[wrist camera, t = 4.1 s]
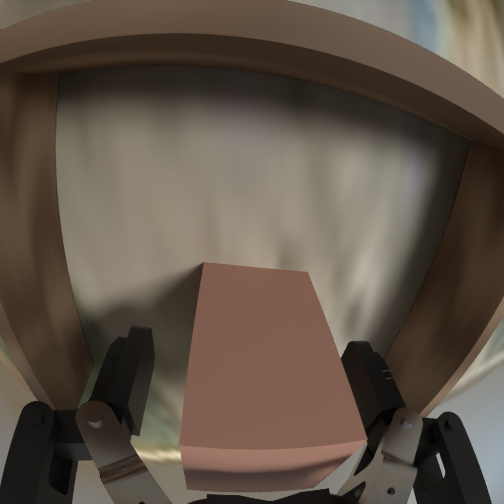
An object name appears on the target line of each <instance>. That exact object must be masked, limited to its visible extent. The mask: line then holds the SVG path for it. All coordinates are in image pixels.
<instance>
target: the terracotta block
mask: <svg viewBox="0 0 504 504" xmlns="http://www.w3.org/2000/svg"><path fill="white" fill-rule="evenodd" d="M366 440H367V436H366V433H365V430H364V427H363V423H362V420H361V417H360V414H359V411H358V408H357V405H356V402H355V399H354V396H353V393H352V390H351V387H350V384H349V382H348V379H347V376H346V373H345V370H344V367H343V364H342V362H341V359H340V356H339V353H338V351H337V348H336V345H335V342H334V340H333V337H332V334H331V331H330V329H329V326H328V323H327V321H326V318H325V315H324V313H323V310H322V308H321V305H320V302H319V300H318V297H317V295H316V292H315V290H314V287H313V284H312V282H311V279H310V277H309V274H308V272H301V271H290V270H279V269H268V268H257V267H247V266H236V265H226V264H216V263H206V262H204V265H203V271H202V277H201V283H200V289H199V295H198V302H197V308H196V315H195V321H194V328H193V335H192V342H191V349H190V357H189V364H188V372H187V380H186V388H185V397H184V406H183V415H182V425H181V435H180V451H181V457H182V463H183V469H184V474H185V480H186V484H187V489H190V490H200V491H215V492H272V491H287V490H298V489H307V488H313V487H315V486H316V485H317V484H319V483H320V482H321V481H322V480H324V479H325V478H326V477H327V476H328V475H329V474H331V473H332V472H333V471H334V470H335V469H337V468H338V467H339V466H340V465H341V464H342V463H343V462H344V461H346V460H347V458H349V457H350V456H351V455H352V454H353V453H354V452H355V451H356V450H357V449H358V448H359V447H360V446H361V445H362V444H363V443H364V442H365V441H366Z"/></svg>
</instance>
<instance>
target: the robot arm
mask: <svg viewBox="0 0 504 504" xmlns="http://www.w3.org/2000/svg"><path fill="white" fill-rule="evenodd" d="M154 359H155V355H154V346H153V337H152V330H151V328H146V327H139V326H132V327H131V329H130V332H129V335H128V337H127V338H124V337H118V338H117V339H116V340H115V341H114V342H113V343H112V344H111V345H110V347H109V349H108V352H107V354H106V358H105V359H104V362H103V366H102V367H101V370H100V373H99V375H98V378H97V381H96V384H95V386H94V389H93V392H92V395H91V397H90V399H89V401H88V402H86V403H84V404H82V405H81V406H80V407H79V408H78V409H74V410H52V409H51V407H50V406H49V405H48V404H46V403H44V402H41V401H33V402H30V403H28V404H27V405H26V406H25V407H24V408H23V410H22V412H21V415H20V417H19V420H18V423H17V426H16V429H15V432H14V436H13V438H12V442H11V445H10V449H9V452H8V456H7V460H6V464H5V467H4V472H3V476H2V480H1V485H0V504H72V499H73V491H74V484H75V478H76V471H77V465H78V460H93V461H94V463H95V465H96V467H97V469H98V471H99V473H100V478H101V481H102V483H103V485H104V486H105V488H106V490H107V492H108V494H109V495H110V497H111V499H112V500H113V502H114V504H173V503H172V502H171V501H170V500H169V498H168V497H167V496H166V494H165V493H164V492H163V490H162V489H161V488H160V486H159V485H158V483H157V482H156V480H155V479H154V478H153V476H152V475H151V473H150V472H149V470H148V469H147V467H146V466H145V464H144V463H143V461H142V460H141V459H140V457H139V456H138V454H137V453H136V451H135V450H134V448H133V446H132V445H131V443H130V440H131V435H136V436H140V430H141V425H142V420H143V415H144V410H145V405H146V400H147V395H148V391H149V386H150V382H151V377H152V373H153V368H154ZM341 362H342V364H343V367H344V370H345V373H346V376H347V379H348V382H349V384H350V387H351V390H352V393H353V396H354V399H355V402H356V405H357V408H358V411H359V414H360V417H361V420H362V423H363V427H364V430H365V433H366V436H367V440H366V441H367V443H366V444H365V445H364V447H363V449H362V452H361V454H360V456H359V458H358V460H357V462H356V464H355V466H354V468H353V471H352V472H351V474H350V476H349V478H348V480H347V481H346V482H345V483H344V485H343V486H342V487H341V488H340V490H339V491H338V493H337V494H336V495H334V494H330V492H329V488H327V489H321V490H314V491H306V492H300V493H297V494H294V495H291V496H288V497H284V498H281V499H278V500H274V501H265V500H260V499H254V498H249V497H244V496H240V495H215V494H207V499H201V500H197V501H193V502H190V503H188V504H407V501H408V498H409V496H410V493H411V490H412V487H413V489H414V493H415V497H416V501H417V504H492V503H491V500H490V496H489V493H488V490H487V486H486V483H485V480H484V478H483V474H482V471H481V469H480V466H479V463H478V460H477V458H476V455H475V452H474V450H473V447H472V445H471V442H470V440H469V438H468V435H467V433H466V430H465V428H464V426H463V423H462V421H461V419H460V418H459V417H458V416H457V415H456V414H454V413H452V412H444V413H442V414H441V415H440V416H439V417H438V418H437V419H433V418H423V417H421V416H420V414H419V413H418V412H417V411H416V410H414V409H412V408H409V407H406V405H405V403H404V401H403V398H402V396H401V394H400V392H399V390H398V387H397V385H396V383H395V381H394V379H393V377H392V375H391V372H389V368H388V366H387V364H386V362H385V360H384V359H383V358H382V357H381V356H380V355H379V354H378V353H377V352H373V350H372V348H371V346H370V344H369V342H367V341H351V342H349V343H348V345H347V347H346V349H345V351H344V353H343V355H342V357H341ZM438 453H440V456H441V459H442V462H443V465H444V469H445V477H444V478H443V476H442V473H441V469H440V466H439V464H438V460H437V457H436V455H437V454H438Z"/></svg>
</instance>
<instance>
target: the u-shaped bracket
mask: <svg viewBox="0 0 504 504" xmlns="http://www.w3.org/2000/svg"><path fill="white" fill-rule="evenodd" d="M127 66H198V67H213V68H225V69H235V70H243V71H251V72H258V73H265V74H271V75H277V76H283V77H288V78H293V79H298V80H303V81H308V82H312V83H316V84H321V85H325V86H329V87H333V88H336V89H340V90H344V91H347V92H351V93H354V94H358V95H361V96H364V97H367V98H370V99H374V100H377V101H380V102H382V103H385V104H388V105H391V106H394V107H396V108H399V109H402V110H404V111H407V112H410V113H412V114H415V115H417V116H419V117H422V118H424V119H427V120H429V121H431V122H433V123H436V124H438V125H440V126H442V127H444V128H447V129H449V130H451V131H453V132H455V133H457V134H459V135H461V136H463V137H465V138H467V139H469V140H471V141H470V145H469V150H468V154H467V159H466V163H465V167H464V171H463V175H462V178H461V182H460V186H459V189H458V193H457V196H456V199H455V202H454V206H453V209H452V212H451V215H450V218H449V221H448V224H447V226H446V229H445V232H444V235H443V237H442V240H441V243H440V245H439V248H438V250H437V253H436V255H435V258H434V260H433V263H432V265H431V267H430V270H429V272H428V274H427V277H426V279H425V281H424V283H423V285H422V288H421V290H420V292H419V294H418V296H417V298H416V300H415V302H414V304H413V306H412V308H411V310H410V312H409V314H408V316H407V318H406V320H405V322H404V324H403V326H402V327H401V329H400V331H399V333H398V335H397V337H396V338H395V340H394V342H393V344H392V345H391V347H390V349H389V350H388V352H387V354H386V356H385V357H384V360H385V362H386V364H387V366H388V368H389V372H391V375H392V377H393V379H394V381H395V383H396V385H397V387H398V390H399V392H400V394H401V396H402V398H403V401H404V403H405V405H406V407H409V408H412V409H414V410H416V411H417V412H418V413H419V414H420V416H421V417H423V418H426V417H427V416H428V415H429V414H430V413H431V412H432V411H433V410H434V409H435V407H436V406H437V405H438V404H439V403H440V402H441V401H442V400H443V399H444V397H445V396H446V395H447V394H448V393H449V392H450V390H451V389H452V388H453V387H454V386H455V384H456V383H457V382H458V381H459V380H460V378H461V377H462V376H463V375H464V373H465V372H466V371H467V369H468V368H469V367H470V365H471V364H472V363H473V361H474V360H475V359H476V357H477V356H478V354H479V353H480V352H481V350H482V349H483V347H484V346H485V344H486V343H487V341H488V340H489V338H490V337H491V335H492V334H493V332H494V331H495V329H496V327H497V326H498V324H499V322H500V321H501V319H502V317H503V316H504V99H503V98H502V97H501V96H499V95H498V94H497V93H495V92H494V91H493V90H491V89H490V88H489V87H487V86H486V85H485V84H483V83H482V82H480V81H479V80H477V79H476V78H474V77H473V76H471V75H470V74H468V73H467V72H465V71H464V70H462V69H461V68H459V67H457V66H456V65H454V64H452V63H451V62H449V61H447V60H446V59H444V58H442V57H440V56H438V55H437V54H435V53H433V52H431V51H429V50H427V49H425V48H423V47H422V46H420V45H418V44H415V43H413V42H411V41H409V40H407V39H405V38H403V37H401V36H398V35H396V34H394V33H391V32H389V31H387V30H384V29H382V28H379V27H377V26H374V25H372V24H369V23H366V22H363V21H361V20H358V19H355V18H352V17H349V16H346V15H342V14H339V13H336V12H332V11H329V10H325V9H322V8H318V7H314V6H310V5H306V4H301V3H297V2H292V1H287V0H94V1H89V2H84V3H80V4H76V5H72V6H68V7H64V8H61V9H57V10H54V11H50V12H47V13H44V14H41V15H38V16H35V17H32V18H29V19H27V20H24V21H21V22H19V23H16V24H14V25H11V26H9V27H7V28H4V29H2V30H0V335H1V337H2V339H3V341H4V343H5V345H6V347H7V349H8V351H9V353H10V355H11V357H12V359H13V361H14V362H15V364H16V366H17V368H18V369H19V371H20V373H21V375H22V376H23V378H24V380H25V381H26V383H27V384H28V386H29V388H30V389H31V391H32V392H33V394H34V395H35V397H36V398H37V400H38V401H41V402H44V403H46V404H48V405H49V406H50V407H51V409H52V410H74V409H77V408H78V405H79V402H80V400H81V397H82V394H83V391H84V389H85V386H86V383H87V381H88V378H89V376H90V373H91V370H92V368H93V365H94V364H93V361H92V358H91V355H90V352H89V349H88V346H87V343H86V340H85V336H84V333H83V330H82V326H81V323H80V319H79V316H78V312H77V308H76V304H75V300H74V296H73V292H72V287H71V283H70V278H69V273H68V268H67V263H66V258H65V252H64V246H63V239H62V232H61V225H60V217H59V207H58V196H57V182H56V158H55V132H56V108H57V94H58V84H59V75H60V74H63V73H69V72H76V71H84V70H92V69H101V68H112V67H127Z"/></svg>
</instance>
